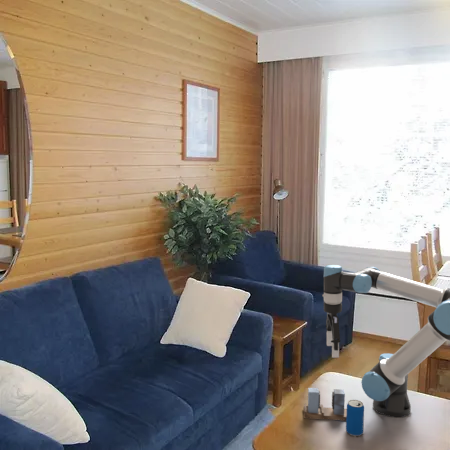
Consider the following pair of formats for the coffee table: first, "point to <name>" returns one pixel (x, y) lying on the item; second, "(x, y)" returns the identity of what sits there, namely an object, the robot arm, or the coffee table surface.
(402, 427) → the coffee table surface
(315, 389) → the block
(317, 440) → the coffee table surface
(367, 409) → the coffee table surface
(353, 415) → the beverage can
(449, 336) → the robot arm
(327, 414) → the brown boxy frame piece
